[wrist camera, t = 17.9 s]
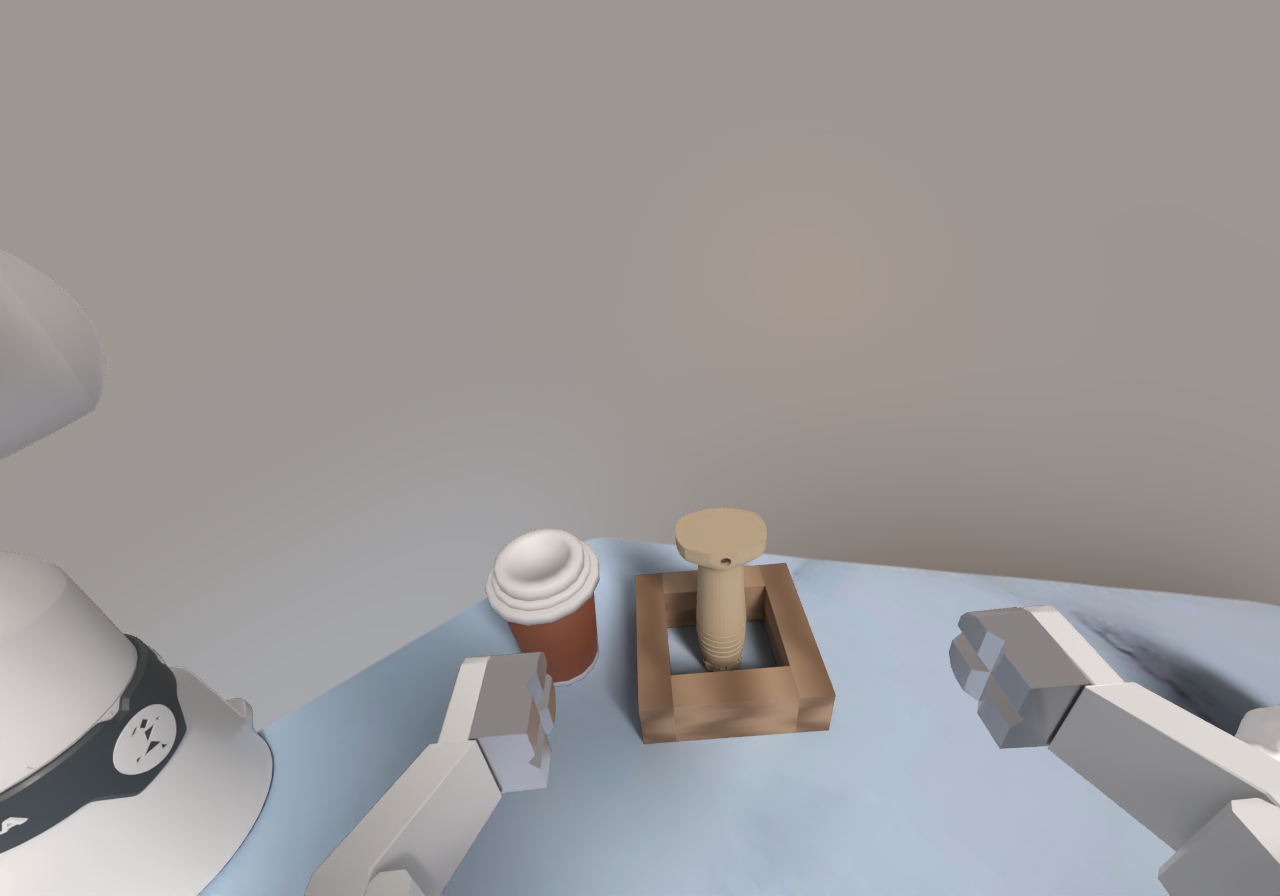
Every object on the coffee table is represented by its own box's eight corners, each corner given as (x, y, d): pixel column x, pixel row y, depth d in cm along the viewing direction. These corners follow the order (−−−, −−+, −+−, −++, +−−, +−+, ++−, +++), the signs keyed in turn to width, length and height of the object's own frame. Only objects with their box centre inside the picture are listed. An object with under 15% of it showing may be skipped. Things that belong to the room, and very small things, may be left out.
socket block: (643, 743, 39) (638, 709, 36) (639, 608, 50) (635, 575, 47) (828, 730, 38) (835, 694, 36) (783, 596, 49) (785, 563, 47)
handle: (682, 640, 46) (673, 511, 38) (753, 635, 46) (758, 505, 38) (686, 690, 42) (677, 557, 34) (764, 685, 42) (773, 549, 34)
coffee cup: (620, 614, 49) (604, 518, 43) (605, 704, 42) (583, 603, 35) (529, 612, 51) (501, 519, 44) (499, 699, 43) (460, 601, 37)
